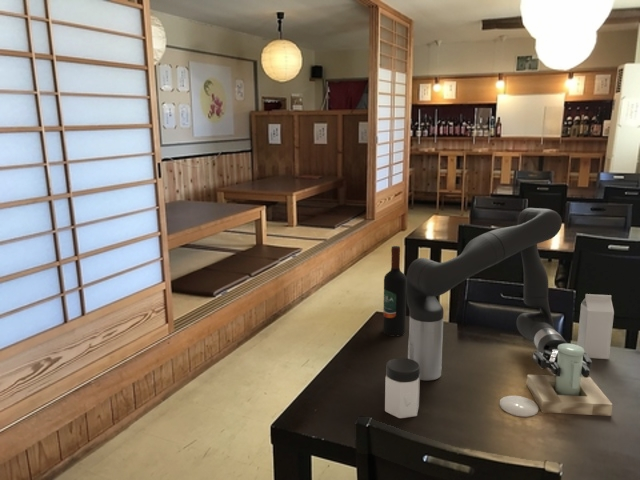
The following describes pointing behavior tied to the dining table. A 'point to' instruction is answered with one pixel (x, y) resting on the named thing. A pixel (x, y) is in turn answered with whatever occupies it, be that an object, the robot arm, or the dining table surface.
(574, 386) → the mint green tumbler
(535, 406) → the saucer
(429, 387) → the dining table surface
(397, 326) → the wine bottle
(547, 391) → the wooden square frame
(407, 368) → the jar
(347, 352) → the dining table surface
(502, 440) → the dining table surface
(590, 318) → the milk carton
